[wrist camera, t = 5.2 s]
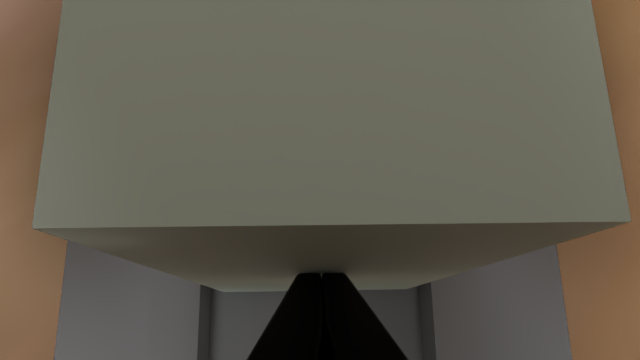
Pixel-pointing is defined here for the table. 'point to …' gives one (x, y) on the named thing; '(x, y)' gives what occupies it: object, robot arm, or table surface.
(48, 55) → the table surface
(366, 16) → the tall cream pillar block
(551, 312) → the track
